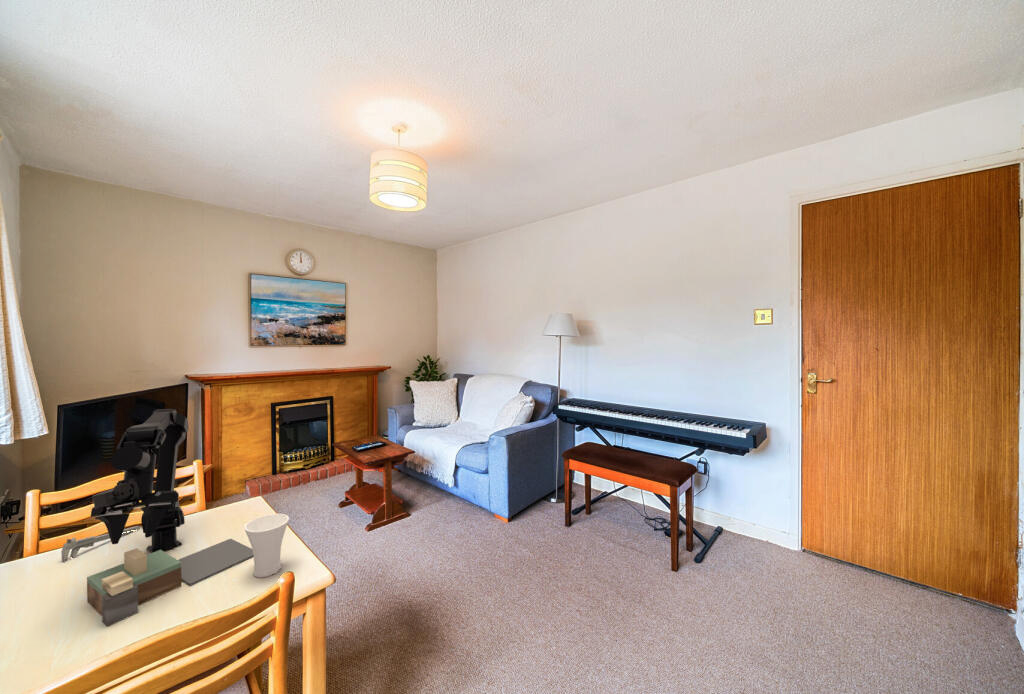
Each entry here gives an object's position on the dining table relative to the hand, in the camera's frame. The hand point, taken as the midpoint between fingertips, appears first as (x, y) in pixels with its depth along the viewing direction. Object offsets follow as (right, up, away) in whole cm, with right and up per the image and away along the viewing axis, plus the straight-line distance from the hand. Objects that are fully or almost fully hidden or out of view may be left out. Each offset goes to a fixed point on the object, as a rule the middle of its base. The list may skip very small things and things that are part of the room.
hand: (131, 540), depth 96 cm
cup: (+26, -14, +12) cm, 32 cm away
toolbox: (+1, -14, +1) cm, 14 cm away
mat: (+7, -14, +16) cm, 23 cm away
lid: (-1, -9, +2) cm, 9 cm away
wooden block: (+2, -8, -6) cm, 10 cm away
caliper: (-32, -14, +25) cm, 43 cm away
